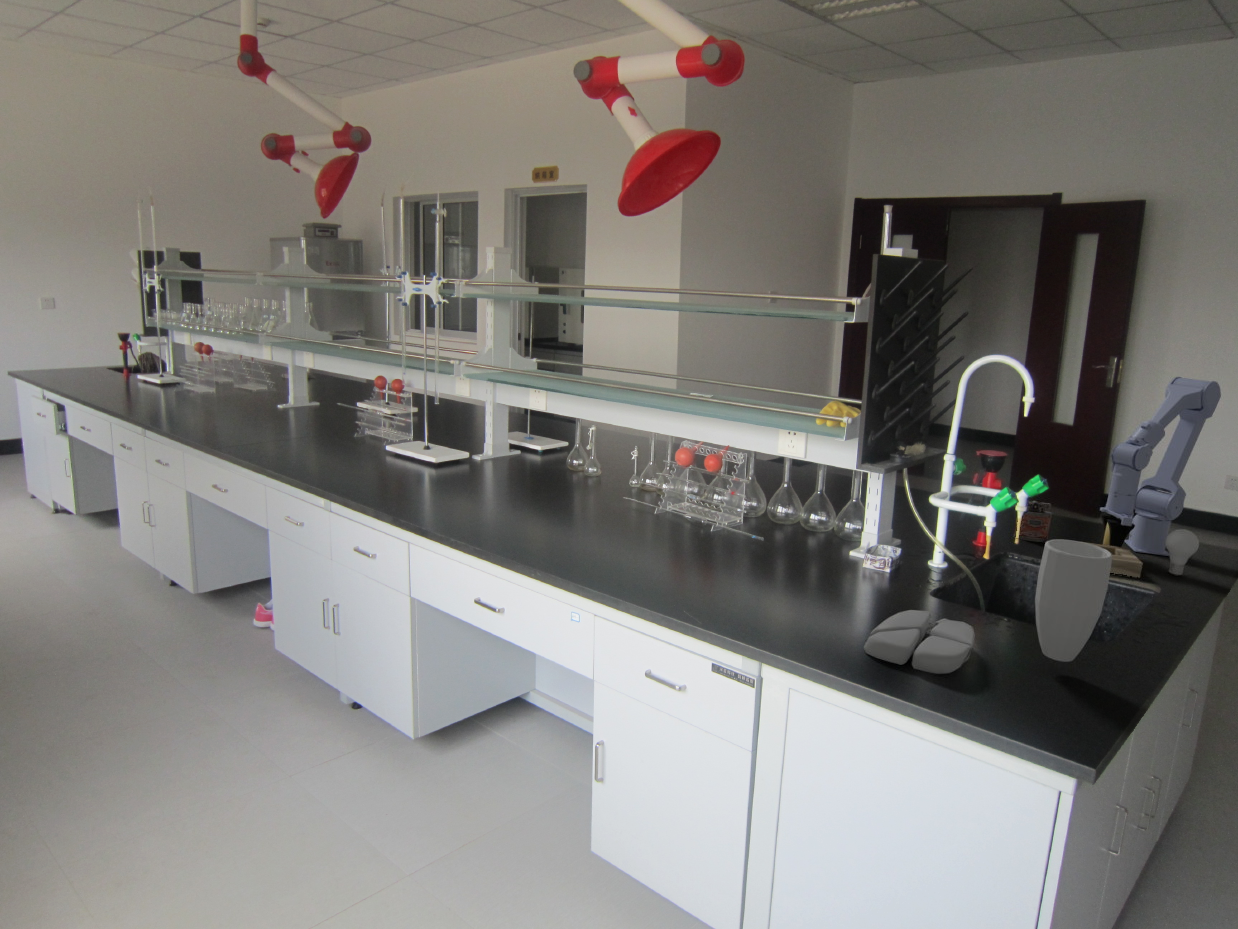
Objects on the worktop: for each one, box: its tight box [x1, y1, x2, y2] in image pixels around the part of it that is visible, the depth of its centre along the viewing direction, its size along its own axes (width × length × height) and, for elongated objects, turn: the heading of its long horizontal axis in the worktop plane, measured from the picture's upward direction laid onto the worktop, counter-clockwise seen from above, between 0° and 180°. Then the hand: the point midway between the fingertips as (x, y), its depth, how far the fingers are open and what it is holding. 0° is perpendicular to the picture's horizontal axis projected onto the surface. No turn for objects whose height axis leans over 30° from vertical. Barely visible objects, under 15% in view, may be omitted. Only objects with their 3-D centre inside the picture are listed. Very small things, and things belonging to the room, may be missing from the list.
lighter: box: [1013, 500, 1054, 543], centre depth 212 cm, size 8×3×10 cm, turn 76°
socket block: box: [1083, 541, 1144, 579], centre depth 194 cm, size 12×12×4 cm
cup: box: [1034, 539, 1112, 663], centre depth 134 cm, size 10×10×22 cm
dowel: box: [1102, 522, 1110, 545], centre depth 202 cm, size 4×4×8 cm
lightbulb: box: [1165, 528, 1200, 577], centre depth 190 cm, size 6×6×11 cm
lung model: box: [863, 609, 976, 675], centre depth 144 cm, size 7×17×25 cm
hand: (1112, 546), depth 202 cm, fingers closed on dowel, 4 cm apart
